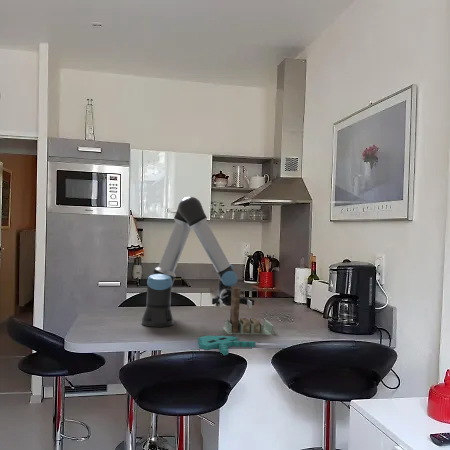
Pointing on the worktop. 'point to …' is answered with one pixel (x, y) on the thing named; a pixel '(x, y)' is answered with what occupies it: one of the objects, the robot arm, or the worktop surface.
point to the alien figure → (222, 343)
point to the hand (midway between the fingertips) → (236, 304)
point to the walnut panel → (235, 308)
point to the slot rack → (264, 329)
